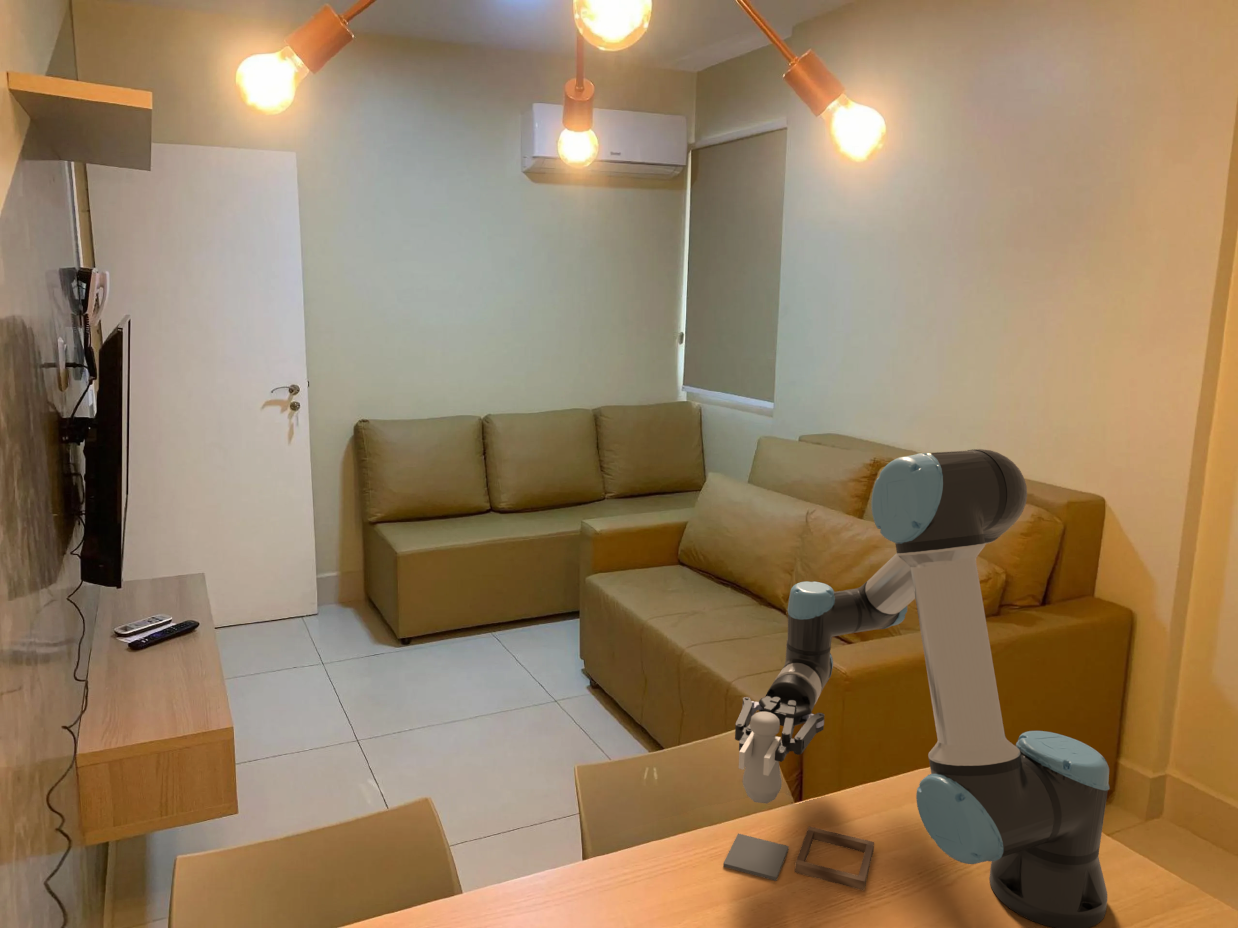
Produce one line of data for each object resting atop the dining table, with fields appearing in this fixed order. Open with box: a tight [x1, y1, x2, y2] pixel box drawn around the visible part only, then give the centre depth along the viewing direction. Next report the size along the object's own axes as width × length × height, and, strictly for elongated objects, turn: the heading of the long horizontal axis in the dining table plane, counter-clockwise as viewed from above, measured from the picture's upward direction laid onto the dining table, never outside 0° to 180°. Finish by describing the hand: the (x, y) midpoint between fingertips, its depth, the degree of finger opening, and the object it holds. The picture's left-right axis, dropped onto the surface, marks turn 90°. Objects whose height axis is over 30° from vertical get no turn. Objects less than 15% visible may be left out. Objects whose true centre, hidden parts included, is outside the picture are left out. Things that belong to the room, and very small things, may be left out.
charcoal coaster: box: [723, 833, 790, 882], centre depth 136 cm, size 8×8×1 cm
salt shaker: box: [742, 711, 783, 804], centre depth 134 cm, size 6×6×13 cm
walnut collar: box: [794, 825, 875, 891], centre depth 136 cm, size 10×10×2 cm
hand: (753, 763), depth 128 cm, fingers closed on salt shaker, 3 cm apart
